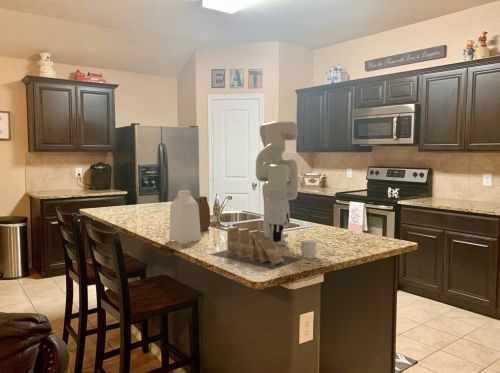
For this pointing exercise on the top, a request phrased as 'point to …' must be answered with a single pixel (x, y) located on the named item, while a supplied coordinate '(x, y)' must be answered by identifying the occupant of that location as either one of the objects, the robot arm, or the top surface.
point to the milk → (184, 218)
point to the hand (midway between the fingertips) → (277, 241)
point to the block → (203, 212)
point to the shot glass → (308, 249)
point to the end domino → (232, 241)
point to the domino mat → (257, 262)
